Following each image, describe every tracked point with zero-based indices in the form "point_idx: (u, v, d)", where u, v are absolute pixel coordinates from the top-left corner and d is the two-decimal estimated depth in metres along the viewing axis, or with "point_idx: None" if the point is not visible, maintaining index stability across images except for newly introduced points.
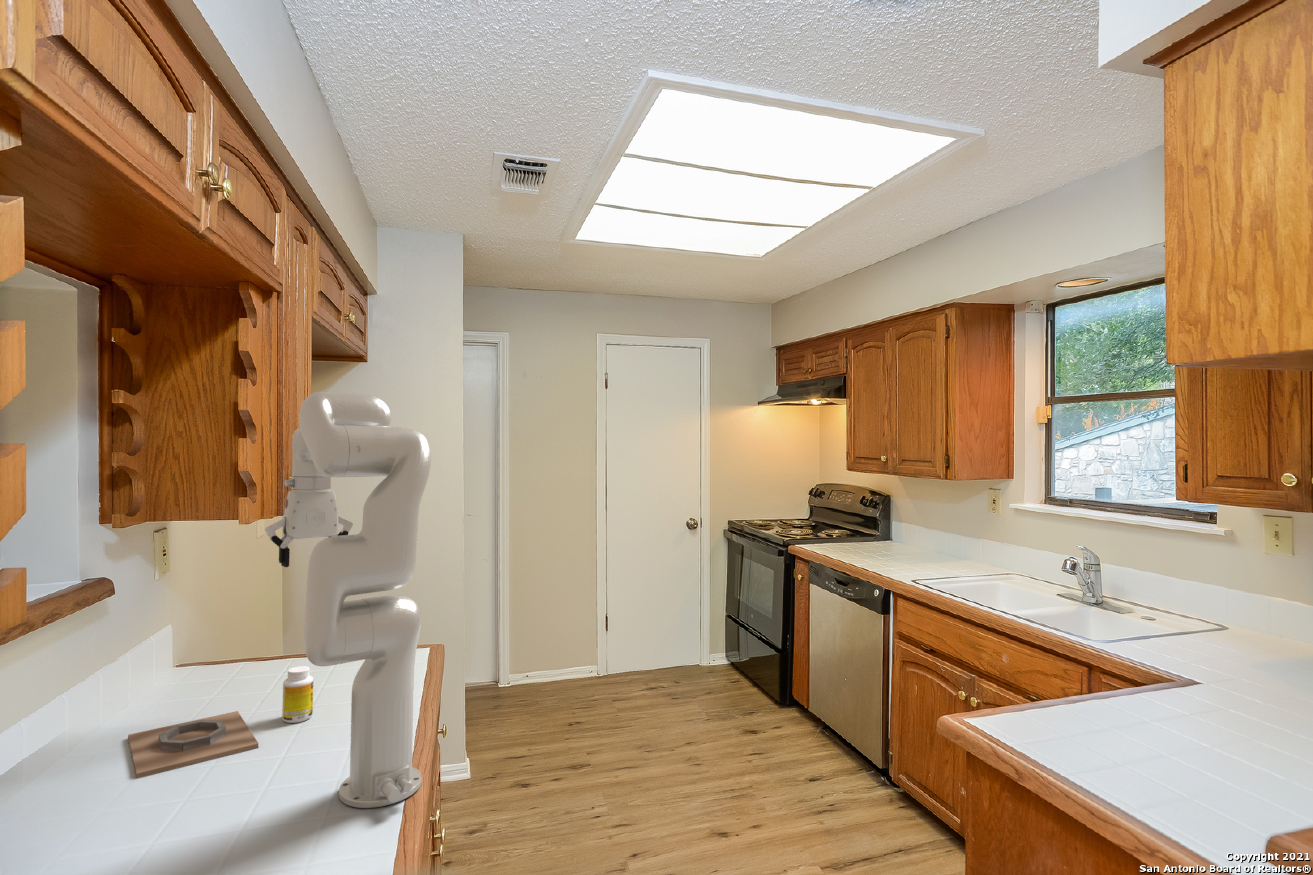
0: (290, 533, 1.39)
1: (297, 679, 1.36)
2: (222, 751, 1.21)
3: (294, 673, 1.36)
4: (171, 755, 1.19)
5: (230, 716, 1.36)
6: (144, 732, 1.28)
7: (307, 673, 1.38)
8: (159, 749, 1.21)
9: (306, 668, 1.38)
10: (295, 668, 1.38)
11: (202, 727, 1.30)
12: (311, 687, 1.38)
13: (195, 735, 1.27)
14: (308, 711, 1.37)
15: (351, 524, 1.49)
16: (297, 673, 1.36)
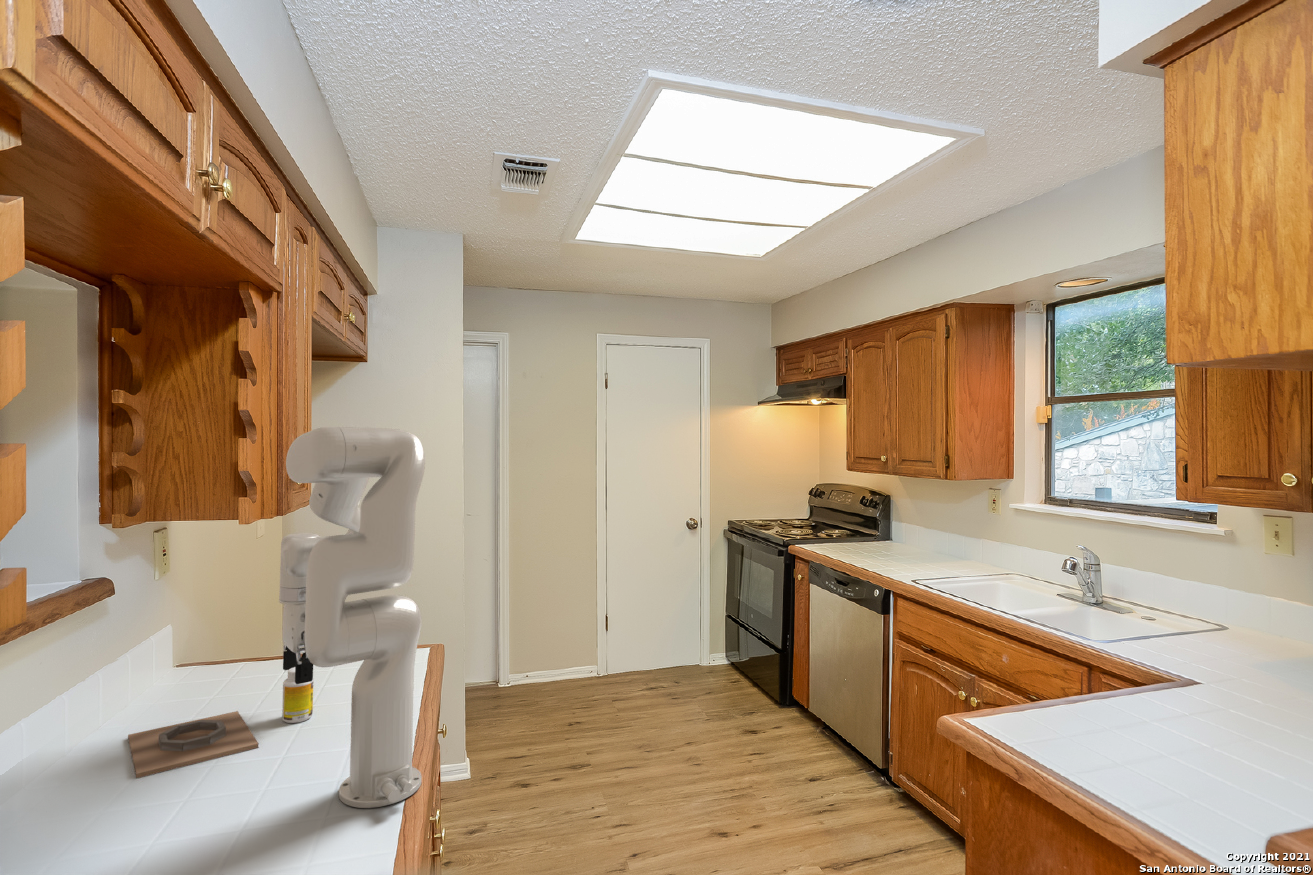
0: None
1: None
2: (222, 751, 1.21)
3: (294, 673, 1.36)
4: (171, 755, 1.19)
5: (230, 716, 1.36)
6: (144, 732, 1.28)
7: None
8: (159, 749, 1.21)
9: None
10: None
11: (202, 727, 1.30)
12: (311, 687, 1.38)
13: (195, 735, 1.27)
14: (308, 711, 1.37)
15: None
16: None
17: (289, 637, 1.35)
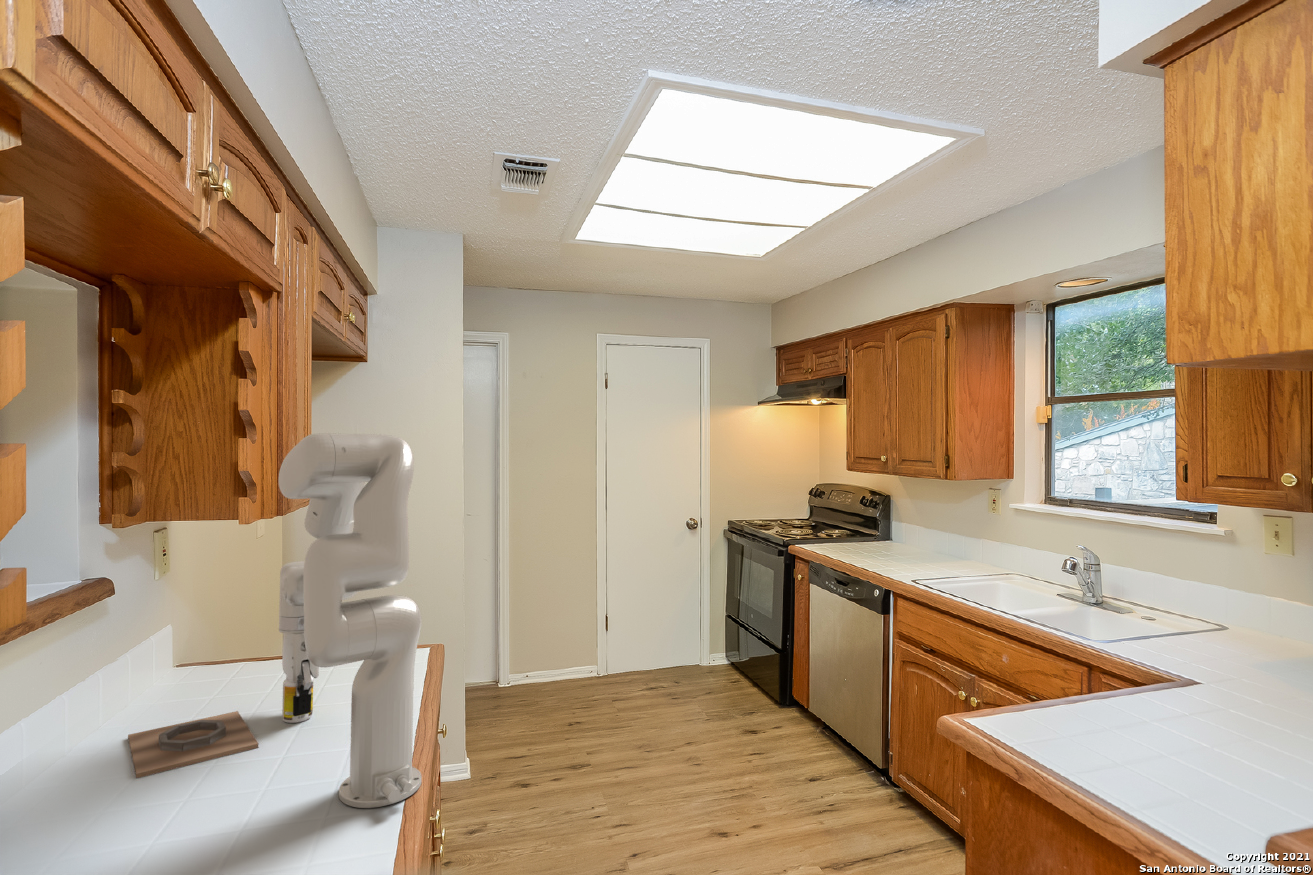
0: (318, 673, 1.36)
1: None
2: (222, 751, 1.21)
3: None
4: (171, 755, 1.19)
5: (230, 716, 1.36)
6: (144, 732, 1.28)
7: None
8: (159, 749, 1.21)
9: None
10: None
11: (202, 727, 1.30)
12: (311, 687, 1.38)
13: (195, 735, 1.27)
14: None
15: None
16: None
17: (289, 666, 1.35)
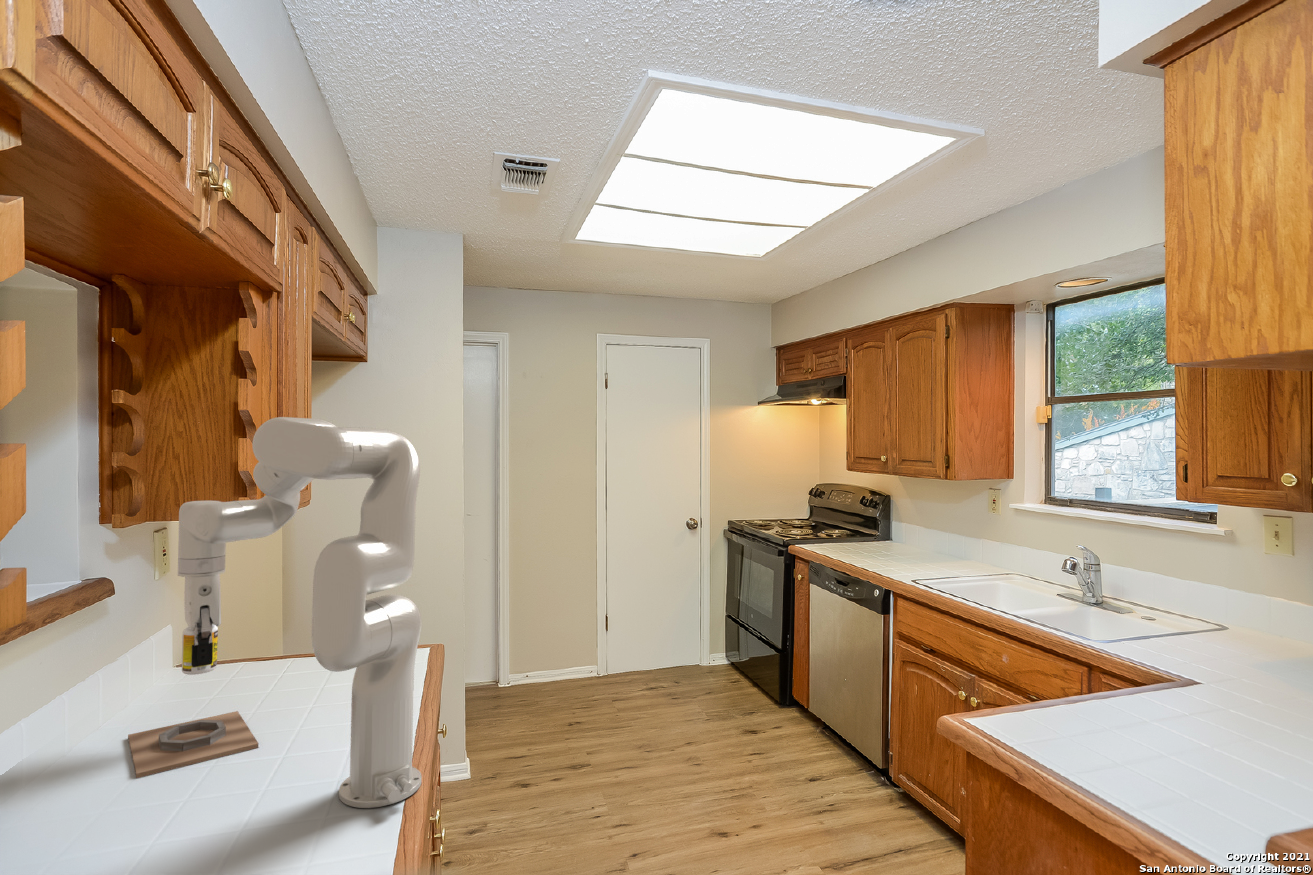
0: (220, 620, 1.25)
1: None
2: (222, 751, 1.21)
3: None
4: (171, 755, 1.19)
5: (230, 716, 1.36)
6: (144, 732, 1.28)
7: None
8: (159, 749, 1.21)
9: None
10: None
11: (202, 727, 1.30)
12: (214, 637, 1.27)
13: (195, 735, 1.27)
14: None
15: None
16: None
17: (187, 613, 1.23)
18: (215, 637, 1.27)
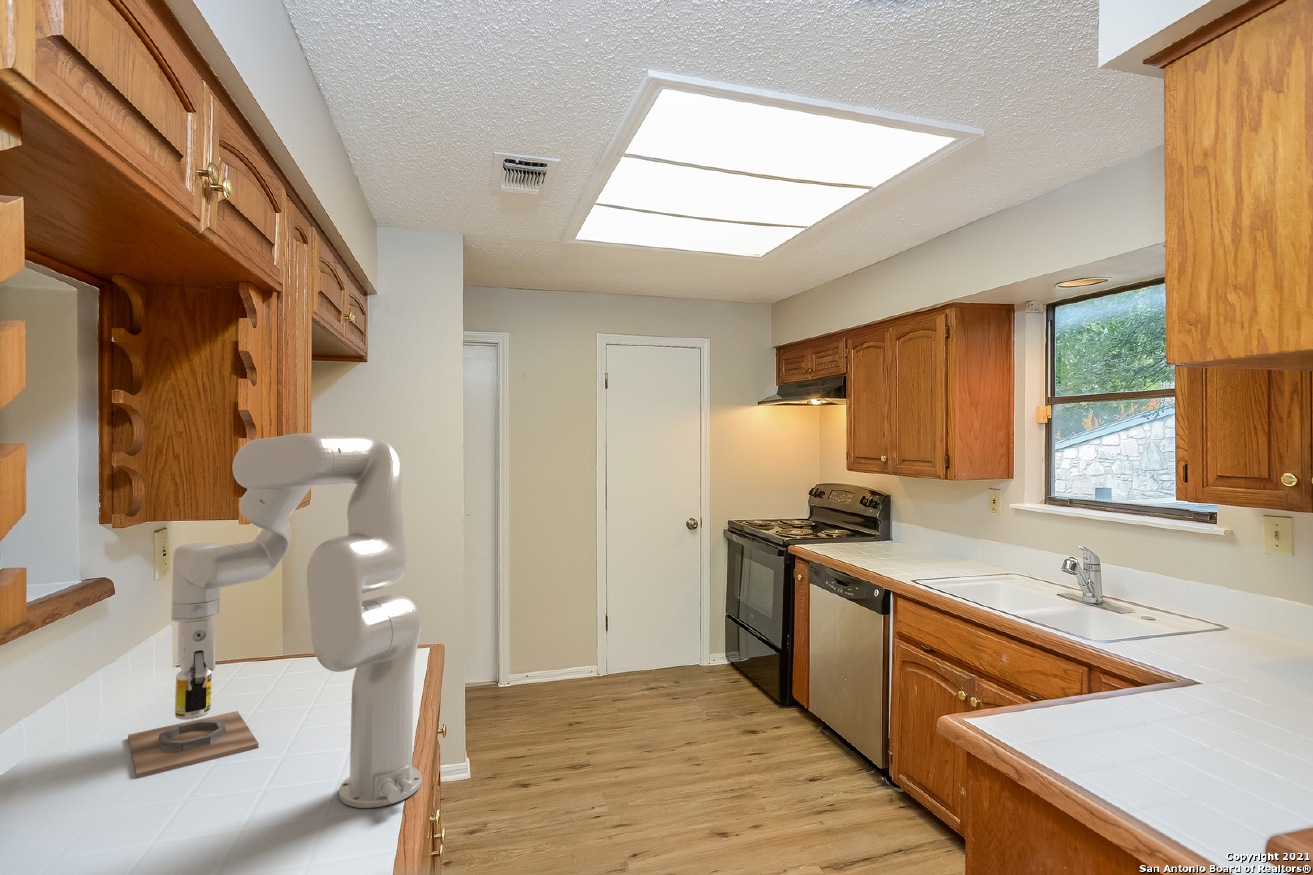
0: (214, 665, 1.24)
1: (191, 672, 1.24)
2: (222, 751, 1.21)
3: None
4: (171, 755, 1.19)
5: (230, 716, 1.36)
6: (144, 732, 1.28)
7: None
8: (159, 749, 1.21)
9: None
10: None
11: (202, 727, 1.30)
12: (208, 680, 1.26)
13: (195, 735, 1.27)
14: None
15: None
16: None
17: (181, 658, 1.23)
18: (209, 681, 1.26)
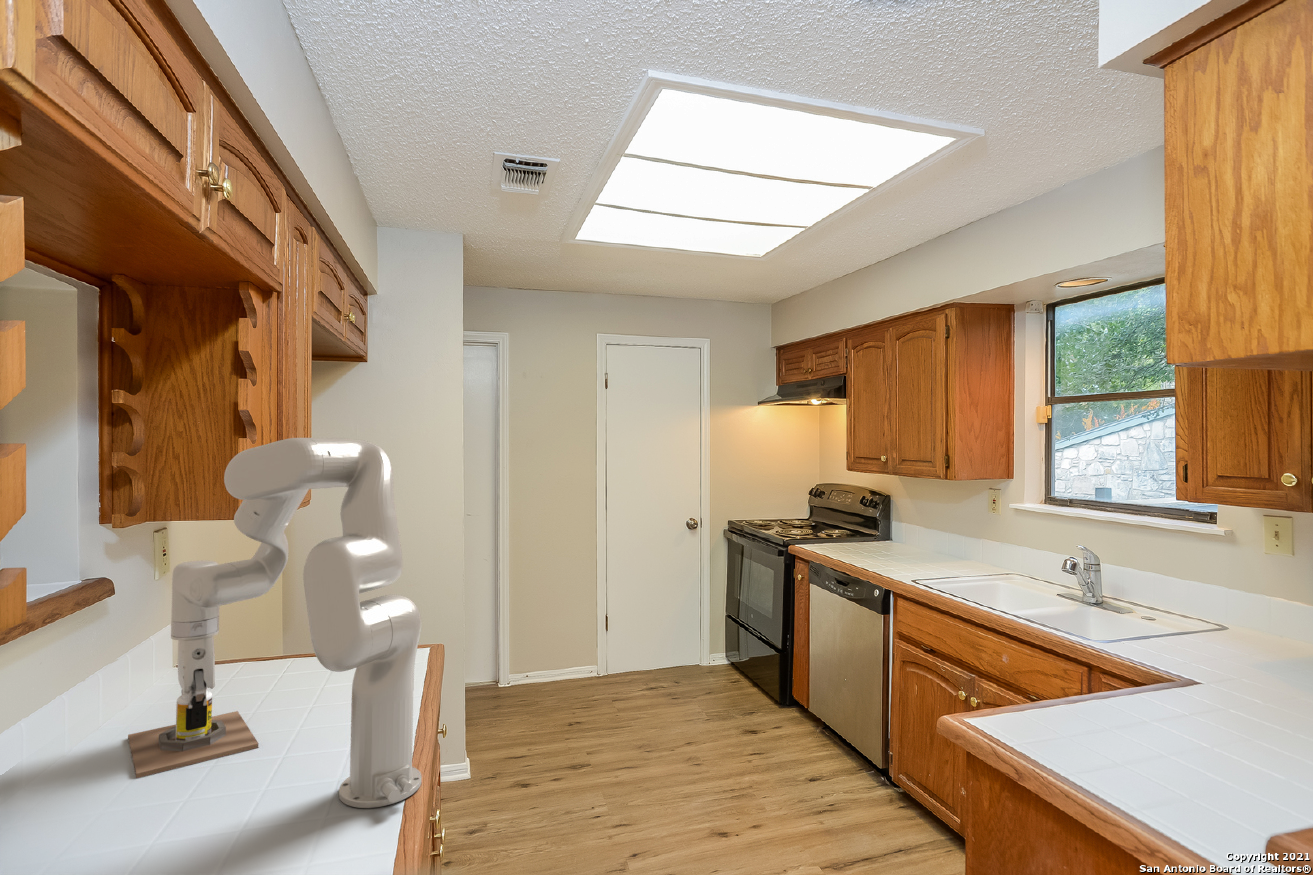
0: (214, 683, 1.24)
1: (192, 696, 1.24)
2: (222, 751, 1.21)
3: None
4: (171, 755, 1.19)
5: (230, 716, 1.36)
6: (144, 732, 1.28)
7: None
8: (159, 749, 1.21)
9: None
10: None
11: None
12: (208, 705, 1.26)
13: None
14: (204, 731, 1.25)
15: None
16: (192, 689, 1.24)
17: (181, 676, 1.23)
18: (209, 705, 1.26)
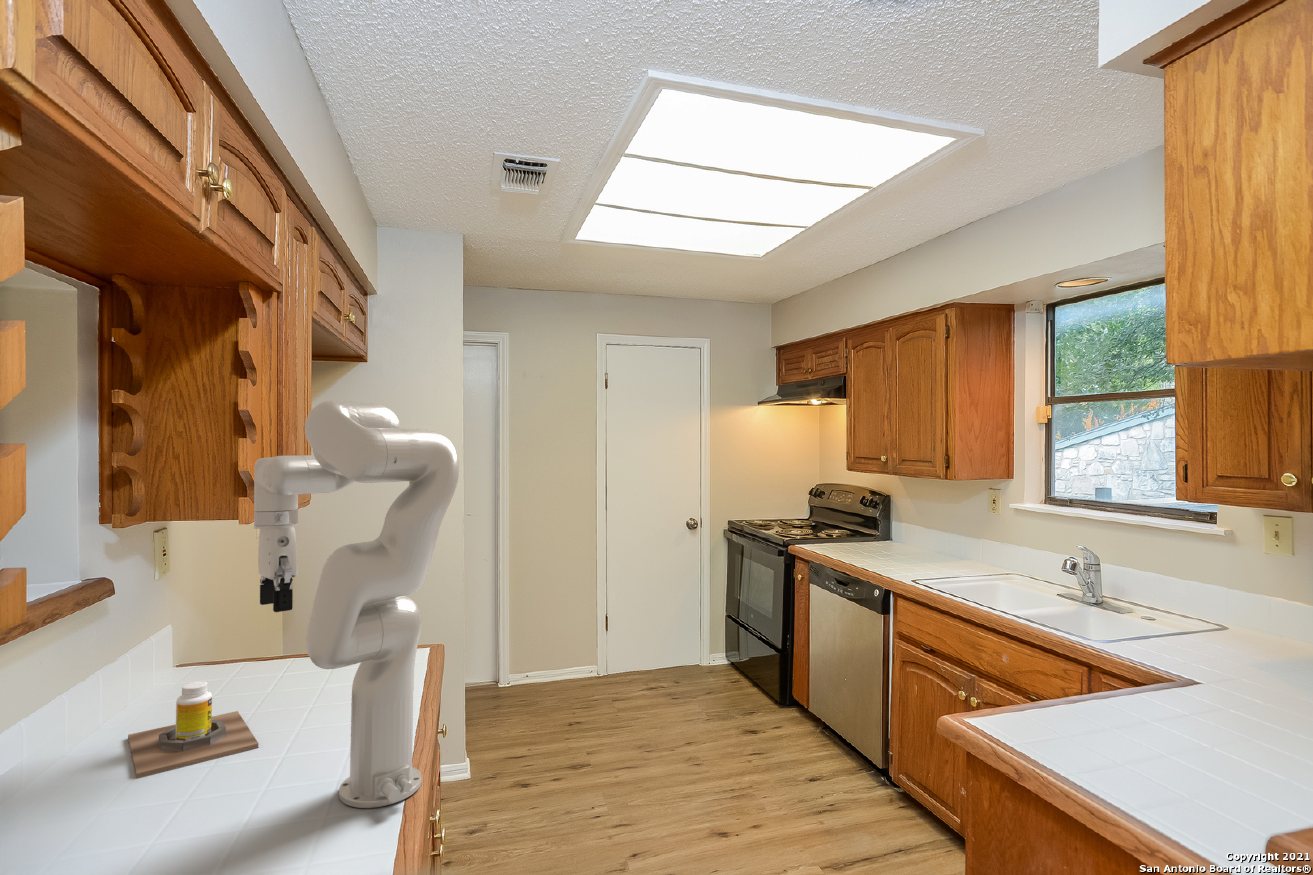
0: (297, 571, 1.29)
1: (191, 696, 1.24)
2: (222, 751, 1.21)
3: (188, 689, 1.24)
4: (171, 755, 1.19)
5: (230, 716, 1.36)
6: (144, 732, 1.28)
7: (204, 689, 1.26)
8: (159, 749, 1.21)
9: (203, 684, 1.26)
10: (191, 683, 1.26)
11: None
12: (208, 705, 1.26)
13: None
14: (204, 732, 1.25)
15: None
16: (191, 689, 1.24)
17: (266, 564, 1.28)
18: (209, 705, 1.26)
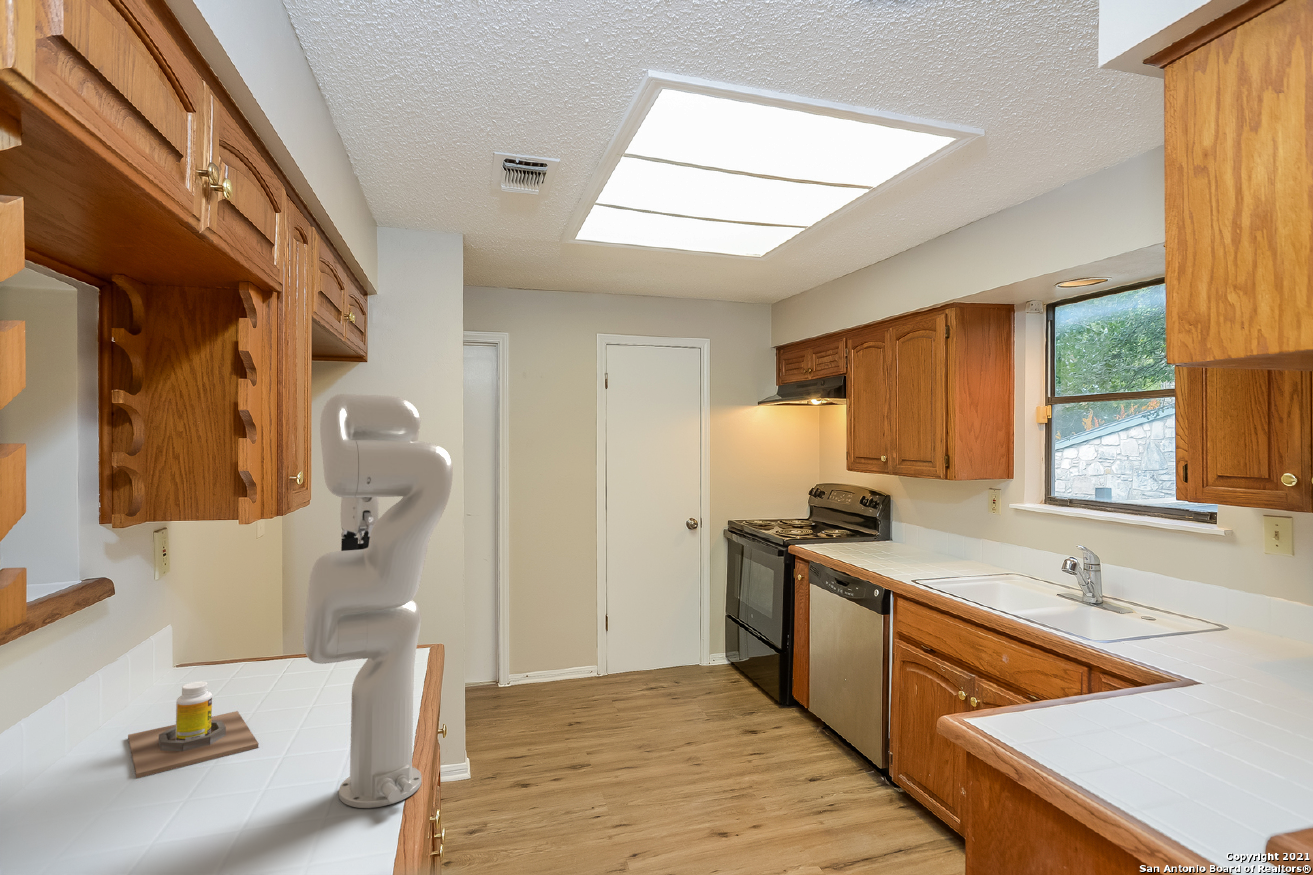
0: None
1: (191, 696, 1.24)
2: (222, 751, 1.21)
3: (188, 689, 1.24)
4: (171, 755, 1.19)
5: (230, 716, 1.36)
6: (144, 732, 1.28)
7: (204, 689, 1.26)
8: (159, 749, 1.21)
9: (203, 684, 1.26)
10: (191, 683, 1.26)
11: None
12: (208, 705, 1.26)
13: None
14: (204, 732, 1.25)
15: None
16: (191, 689, 1.24)
17: (350, 518, 1.33)
18: (209, 705, 1.26)
